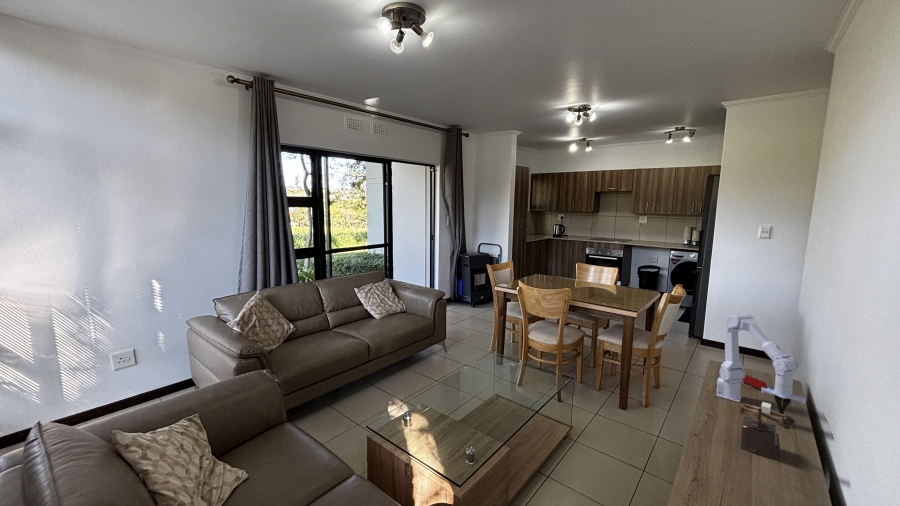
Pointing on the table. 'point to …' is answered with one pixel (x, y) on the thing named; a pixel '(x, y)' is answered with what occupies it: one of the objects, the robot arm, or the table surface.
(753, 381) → the handheld game console
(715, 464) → the table surface
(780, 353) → the robot arm
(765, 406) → the block
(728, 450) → the table surface
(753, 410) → the brown wooden frame
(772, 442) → the dark brown boxy piece
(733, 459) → the table surface
